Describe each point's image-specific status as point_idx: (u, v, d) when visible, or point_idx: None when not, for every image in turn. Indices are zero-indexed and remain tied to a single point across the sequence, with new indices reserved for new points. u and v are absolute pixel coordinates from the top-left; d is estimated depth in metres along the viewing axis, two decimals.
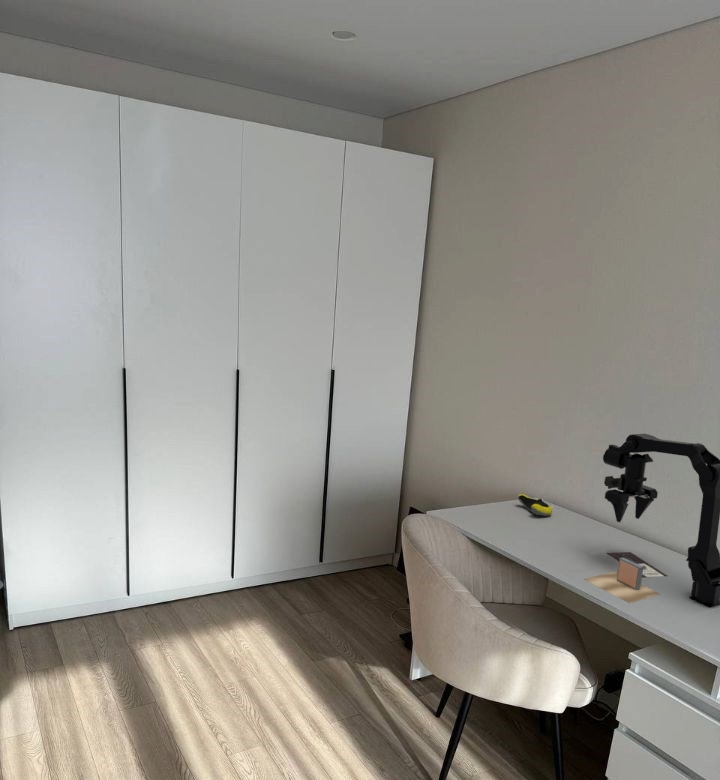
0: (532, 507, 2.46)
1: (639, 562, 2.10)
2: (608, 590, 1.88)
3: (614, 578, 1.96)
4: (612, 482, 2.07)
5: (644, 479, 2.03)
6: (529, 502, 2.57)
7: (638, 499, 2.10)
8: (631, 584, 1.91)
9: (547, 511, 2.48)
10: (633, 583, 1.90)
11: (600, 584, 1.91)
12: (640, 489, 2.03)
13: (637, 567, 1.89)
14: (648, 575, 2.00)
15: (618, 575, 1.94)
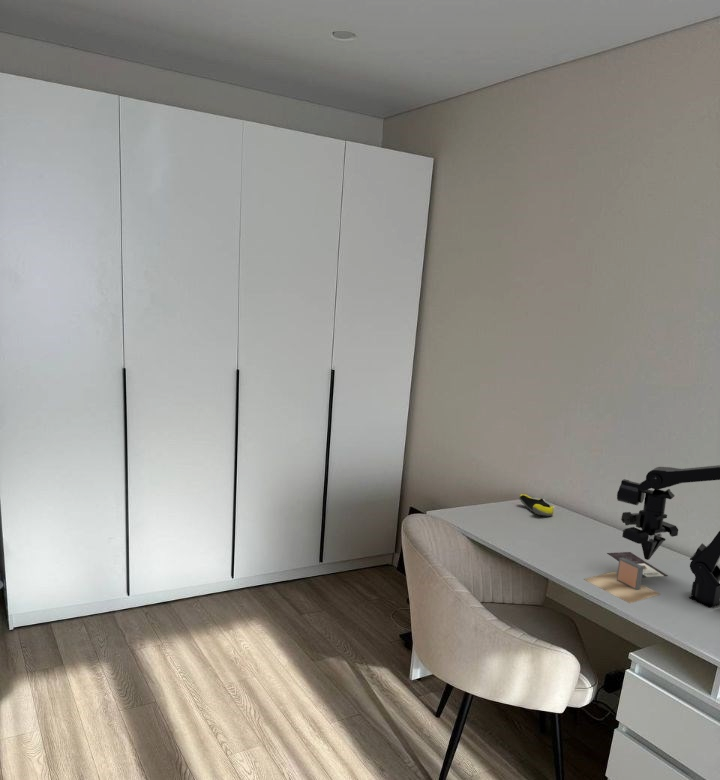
0: (534, 507, 2.46)
1: (639, 562, 2.10)
2: (608, 590, 1.88)
3: (614, 578, 1.96)
4: (630, 519, 1.95)
5: (664, 516, 1.91)
6: (530, 502, 2.57)
7: None
8: (631, 584, 1.91)
9: (549, 511, 2.48)
10: (633, 583, 1.90)
11: (600, 584, 1.91)
12: (660, 527, 1.91)
13: (637, 567, 1.89)
14: (648, 575, 2.00)
15: (618, 575, 1.94)
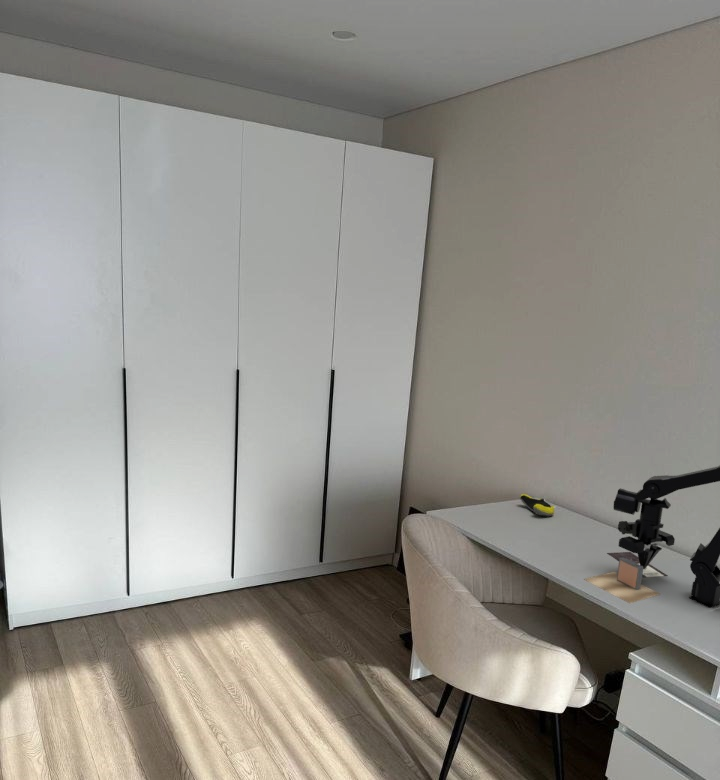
0: (534, 507, 2.46)
1: (639, 562, 2.10)
2: (608, 590, 1.88)
3: (614, 578, 1.96)
4: (626, 528, 1.95)
5: (661, 526, 1.91)
6: (531, 502, 2.57)
7: None
8: (631, 584, 1.91)
9: (549, 511, 2.48)
10: (633, 583, 1.90)
11: (600, 584, 1.91)
12: (656, 536, 1.91)
13: (637, 567, 1.89)
14: (648, 575, 2.00)
15: (618, 575, 1.94)
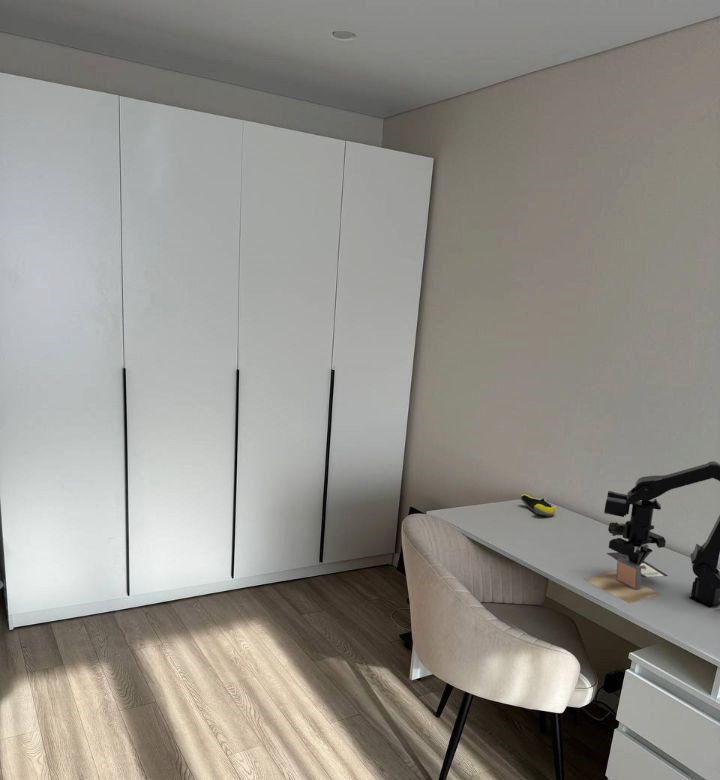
0: (535, 507, 2.47)
1: None
2: (608, 590, 1.88)
3: (614, 578, 1.96)
4: (617, 529, 1.93)
5: (651, 527, 1.89)
6: (532, 502, 2.57)
7: None
8: (631, 584, 1.90)
9: (550, 511, 2.48)
10: (632, 583, 1.90)
11: (600, 584, 1.91)
12: (647, 538, 1.89)
13: (635, 568, 1.88)
14: (648, 575, 2.00)
15: (617, 575, 1.94)
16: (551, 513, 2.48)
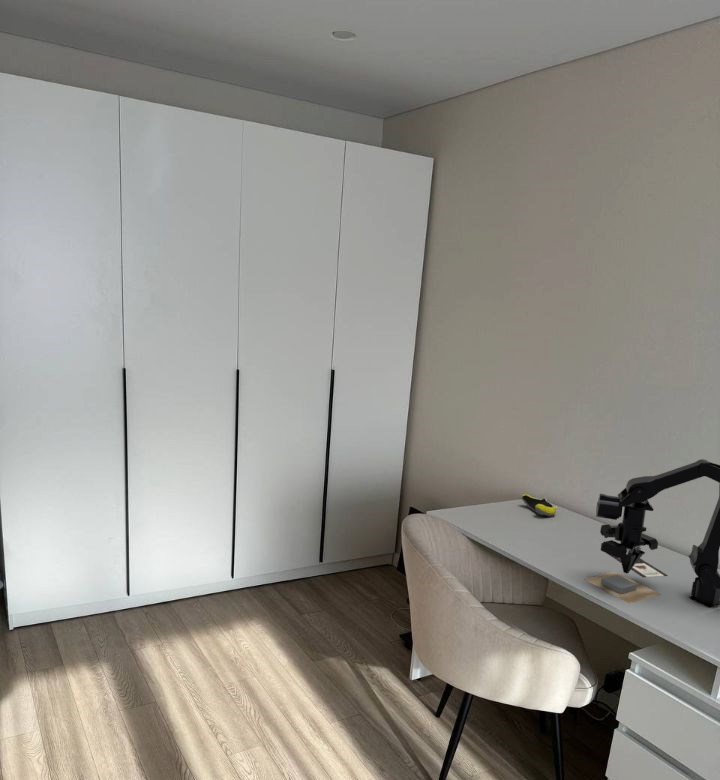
0: (536, 507, 2.47)
1: (639, 562, 2.10)
2: (608, 590, 1.88)
3: None
4: (609, 531, 1.91)
5: (643, 529, 1.87)
6: (533, 502, 2.57)
7: None
8: None
9: (551, 511, 2.48)
10: None
11: (600, 584, 1.91)
12: (639, 540, 1.87)
13: (619, 592, 1.86)
14: (648, 575, 2.00)
15: None
16: (552, 513, 2.48)
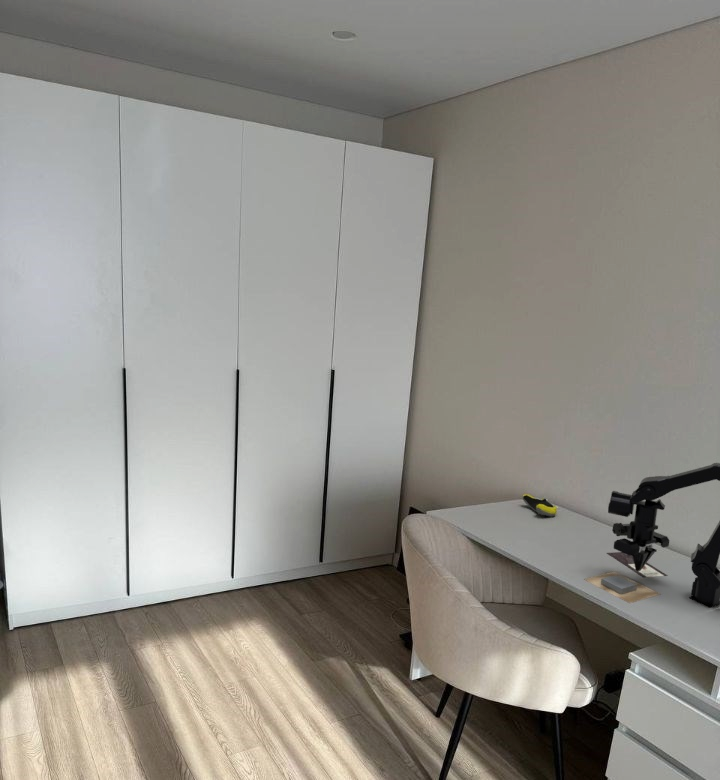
0: (537, 507, 2.47)
1: None
2: (608, 590, 1.88)
3: None
4: (621, 530, 1.94)
5: (655, 527, 1.90)
6: (534, 502, 2.57)
7: None
8: None
9: (552, 511, 2.48)
10: None
11: (600, 584, 1.91)
12: (651, 538, 1.90)
13: (619, 592, 1.86)
14: (648, 575, 2.00)
15: None
16: (553, 513, 2.48)
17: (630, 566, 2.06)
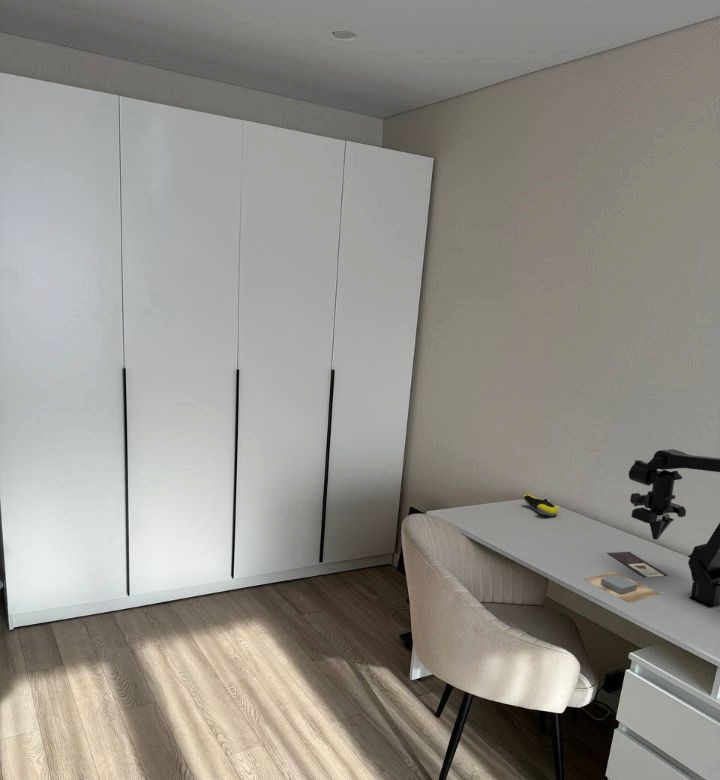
0: (538, 507, 2.47)
1: (638, 562, 2.10)
2: (608, 590, 1.88)
3: None
4: (639, 500, 1.99)
5: (673, 497, 1.95)
6: (535, 502, 2.57)
7: None
8: None
9: (553, 511, 2.48)
10: None
11: (600, 584, 1.91)
12: (668, 507, 1.95)
13: (619, 592, 1.86)
14: (648, 575, 2.00)
15: None
16: (554, 513, 2.48)
17: (630, 566, 2.06)
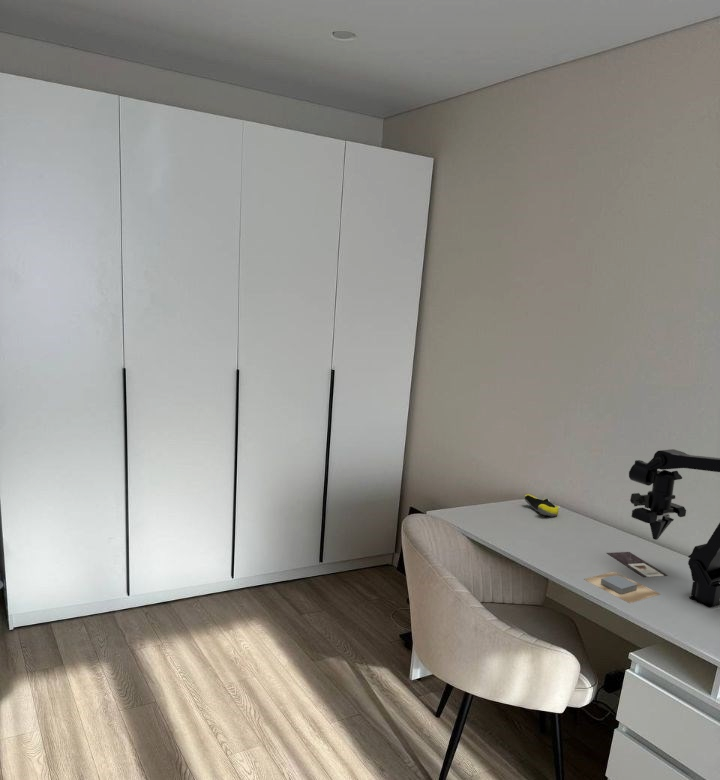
0: (539, 507, 2.47)
1: (638, 562, 2.10)
2: (608, 590, 1.88)
3: None
4: (639, 500, 1.99)
5: (673, 497, 1.95)
6: (535, 502, 2.57)
7: None
8: None
9: (554, 511, 2.48)
10: None
11: (600, 584, 1.91)
12: (668, 507, 1.95)
13: (619, 592, 1.86)
14: (648, 575, 2.00)
15: None
16: (555, 513, 2.48)
17: (630, 566, 2.06)
